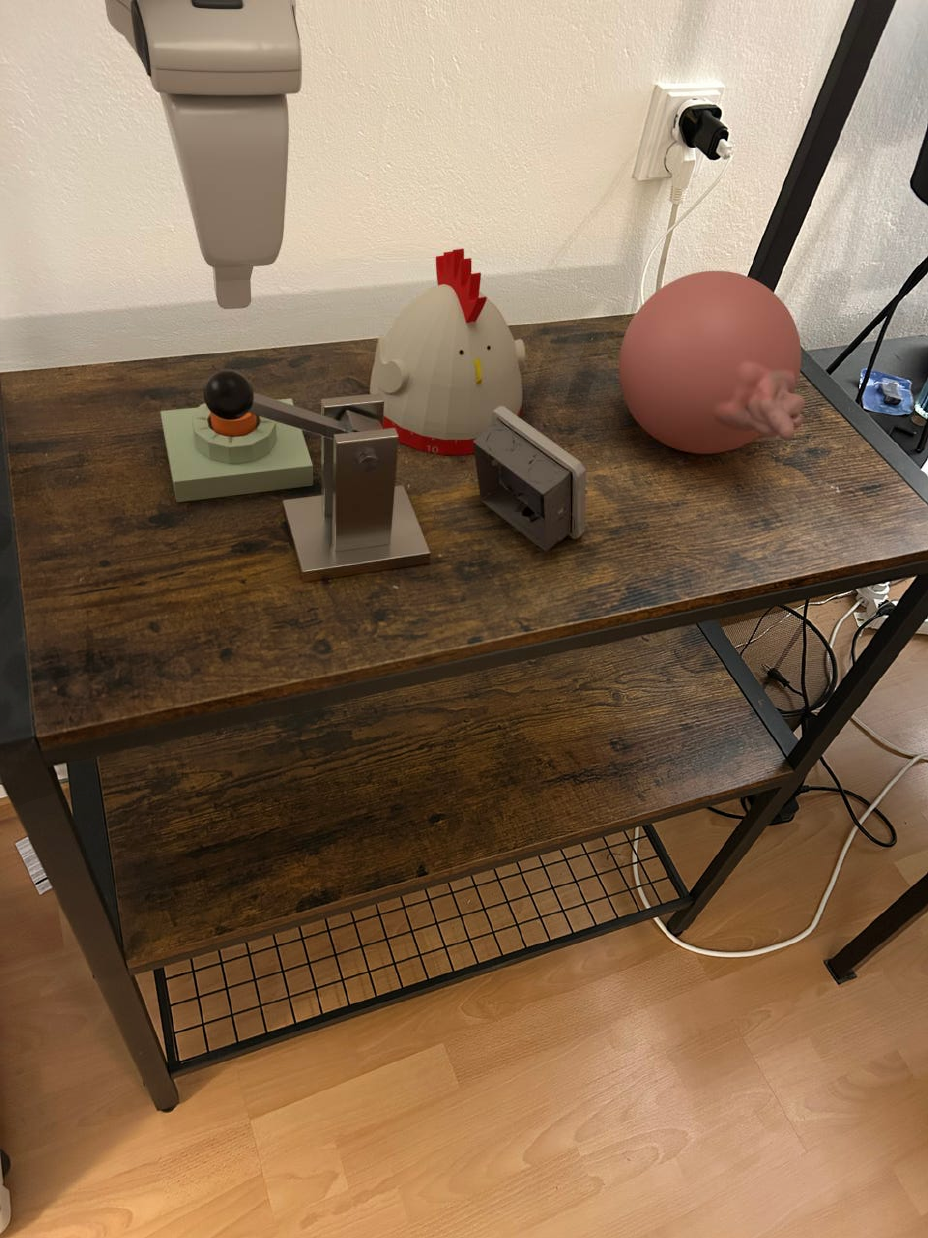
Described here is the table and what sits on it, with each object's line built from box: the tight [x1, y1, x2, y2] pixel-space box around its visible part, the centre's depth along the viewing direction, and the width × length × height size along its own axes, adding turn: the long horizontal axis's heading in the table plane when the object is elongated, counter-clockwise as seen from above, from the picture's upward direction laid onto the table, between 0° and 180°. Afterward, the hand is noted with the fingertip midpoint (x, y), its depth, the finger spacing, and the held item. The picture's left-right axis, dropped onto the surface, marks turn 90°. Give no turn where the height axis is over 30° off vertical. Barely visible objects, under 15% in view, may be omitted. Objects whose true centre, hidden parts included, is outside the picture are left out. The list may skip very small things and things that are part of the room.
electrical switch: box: [473, 406, 587, 552], centre depth 77 cm, size 9×5×9 cm, turn 44°
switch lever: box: [203, 369, 382, 442], centre depth 66 cm, size 13×3×3 cm, turn 108°
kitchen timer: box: [369, 248, 526, 456], centre depth 83 cm, size 14×14×15 cm
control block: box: [160, 398, 314, 503], centre depth 80 cm, size 11×9×4 cm
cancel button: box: [210, 411, 257, 437], centre depth 78 cm, size 4×4×2 cm
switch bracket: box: [282, 393, 432, 583], centre depth 72 cm, size 10×8×12 cm
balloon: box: [618, 270, 806, 455], centre depth 83 cm, size 15×20×15 cm
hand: (220, 256), depth 56 cm, fingers open, 8 cm apart
